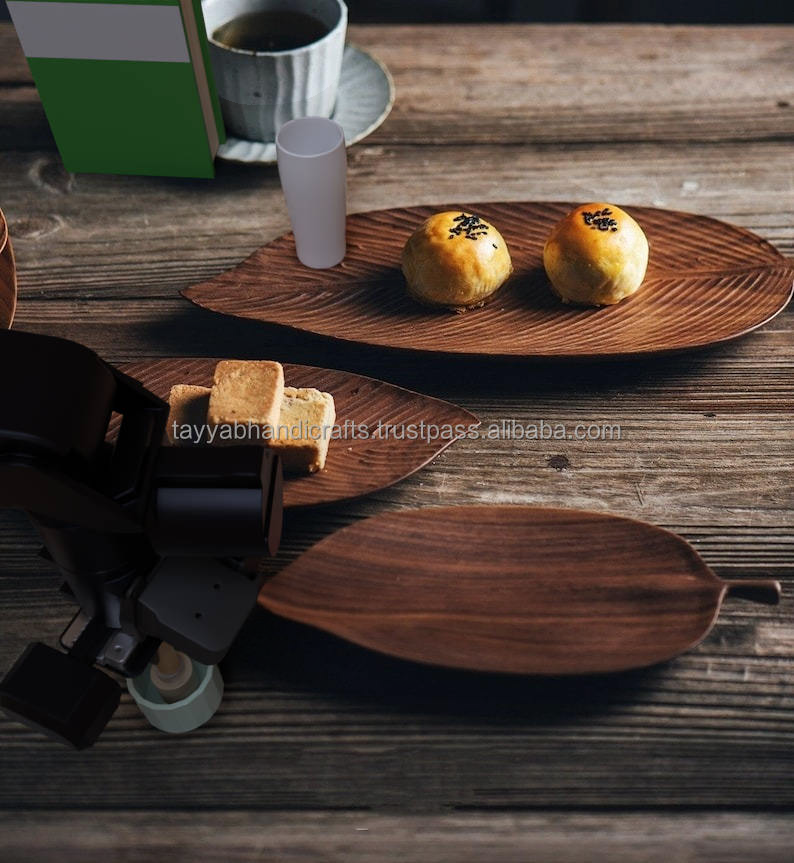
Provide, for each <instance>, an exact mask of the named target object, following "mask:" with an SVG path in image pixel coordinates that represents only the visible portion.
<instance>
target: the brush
mask: <svg viewBox="0 0 794 863" xmlns="http://www.w3.org/2000/svg"><path fill="white" fill-rule="evenodd" d="M155 637H156V636H155ZM157 652H158V654H159V658H160V662H159V663H158V665H157V666H156V665H152V667H151V672H150V676H151V680H152V682H153V684H154V686H155V687H156V689H157V691H158V693H159V695H160V696H161V698H162V700H163V701H164V702H166V703H167V704H173V703H176V702H179V701H182V700H184V699H186V698H188V697H189V696H190V695H191V694H193V693H194V692H195V691H196V690H197V689H199V685H200V681H199V677H198V675H197V673H196V671H195V669H194V666H193V664H192V662H191V660H190V658H189V657H188V656H187V655H186V654H184V653H182V652H179V651H175V650H174V648H173V646H171V645H170V644H168V643H166V642H164V641H163V642H162V644H161V645H160V647H159V648H158V650H157Z"/></svg>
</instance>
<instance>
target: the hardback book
mask: <svg viewBox="0 0 794 863" xmlns="http://www.w3.org/2000/svg"><path fill="white" fill-rule="evenodd" d="M5 3H6V7H7V10H8V12H9V15H10V17H11V20H12V23H13V26H14V29H15V31H16V34H17V37H18V40H19V42H20V45H21V49H22V51H23V54H24V56H25V57H24V58H25V59H26V63H27V65H28V68H29V71H30V74H31V76H32V79H33V82H34V85H35V87H36V90H37V93H38V96H39V99H40V101H41V105H42V107H43V110H44V113H45V116H46V119H47V122H48V124H49V127H50V130H51V134H52V135H53V139H54V141H55V144H56V147H57V150H58V152H59V155H60V158H61V161H62V164H63V166H64V169H65V172H66V173H79V174H80V173H83V174H103V175H126V176H128V175H129V176H131V175H132V176H153V177H173V178H174V177H176V178H198V179H215V178H216V169H215V164H214V161H215V158H216V155H217V152H218V148H219V146H221V145H222V146H225V145H227V141H228V139H227V134H226V128H225V122H224V118H223V113H222V112H223V111H222V108H221V107H222V106H221V102H220V96H219V91H218V85H217V80H216V75H215V70H214V64H213V59H212V54H211V48H210V42H209V37H208V32H207V27H206V21H205V17H204V16H205V15H204V11H203V6H202V0H5Z"/></svg>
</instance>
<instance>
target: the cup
mask: <svg viewBox="0 0 794 863" xmlns="http://www.w3.org/2000/svg"><path fill="white" fill-rule="evenodd" d="M173 648H174V650H175V651H179V652H182V651H180V650H178V649H176V648H175V647H173ZM182 653H183V652H182ZM184 654H185V653H184ZM186 655H187V654H186ZM187 656H188V657H189V658H190V660H191V662H192V664H193V666H194V669H195V671H196V673H197V675H198V677H199V681H200V685H199V689H197V690H196V691H195V692H194V693H193V694H191V695H190V696H189V697H188V698H186V699H184V700H182V701H179V702H176V703H173V704H167V703H166V702H164V701H163V700H162V698H161V696H160V695H159V693H158V691H157V689H156V687H155V686H154V684H153V682H152V680H151V676H150V672H151V667H152V665H153V664H150V663H149V664H148V665H147V667H146V668H145V670H144V671H143V673H142V674H141V675H140V676H139V677H137V678H131V679H130V678H125V681H126V685H127V690H128V692H129V694H130V695H131V697H132V698H133V700H134V702H135V703H136V705H137V706H138V708H139V710H140V711H141V713H142V714H143V716H144V717H145V718H146V720H147V721H148V722H149V723H150V725H151V726H154V727H155V728H156V729H159V730H161V731H163V732H165V733H175V734H178V733H186V732H191V731H192V730H195V729H197V728H199V727H200V726H202V725H204V724H205V723H206V722H208V721H209V720H210V719H211V718H212V716H213V715H214V714H215V713H216V712H217V710H218V708H219V707H220V705H221V703H222V700H223V697H224V696H223V695H224V687H225V683H224V679H223V675H222V672H221V669H220V666H219V663H217V664H215V665H211V666H207V665H203V664H201V663H199V662H197V661H195V660H194V659H193V658H192V657H190V656H189V655H187Z"/></svg>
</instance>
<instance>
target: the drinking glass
mask: <svg viewBox="0 0 794 863" xmlns="http://www.w3.org/2000/svg"><path fill="white" fill-rule="evenodd" d="M274 141H275V153H276V154H275V155H276V163H277V169H278V170H277V171H278V176H279V180H280V181H279V182H280V185H281V189H282V193H283V197H284V201H285V205H286V206H285V207H286V210H287V213H288V218H289V222H290V228H291V232H292V234H293V239H294V244H295V252H296V256H297V258H298V260H299V262H300V263H301V264H303V265H304V266H305V267H308V268H311V269H318V270H323V269H331V268H332V267H335V266H337V265H338V264H340V263H341V262H342V261H343V260H344V258H346V254H347V239H346V238H347V237H346V235H347V234H346V233H347V232H346V230H347V229H346V228H347V201H348V200H347V198H348V197H347V196H348V154H347V146H346V137H345V132H344V130H343V127H342V126H341V125H340V124H339V123H337V122H336V121H335V120H333V119H331V118H327V117H324V116H317V115H307V116H300V117H297V118H293V119H291V120H289V121H287V122H285V123H284V124H282V125H281V126H280V127H279V128H278V129H277V131H276V134H275V137H274Z"/></svg>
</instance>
